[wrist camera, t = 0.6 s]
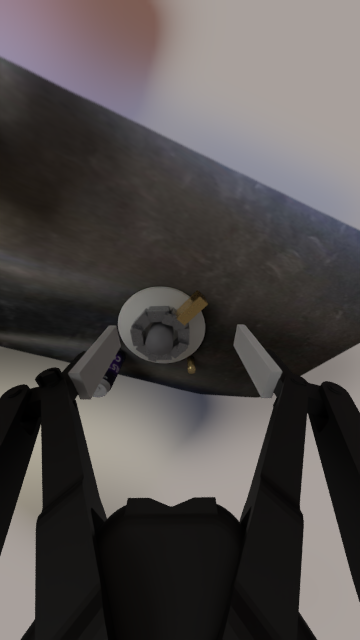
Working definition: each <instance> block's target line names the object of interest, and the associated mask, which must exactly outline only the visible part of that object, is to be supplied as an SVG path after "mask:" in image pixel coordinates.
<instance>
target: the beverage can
mask: <svg viewBox="0 0 360 640" xmlns="http://www.w3.org/2000/svg"><path fill="white" fill-rule="evenodd" d="M124 360H125V355H124V353H123V352H122V351H121V350H120V349H119V350H118V352H117V354H116V356H115V357H114V359H113V361H112V363H111V364H110V366H109V368H108V370H107V371H106V373H105V375H104V377H103V378H102V380H101V382H100V384H99V385H98V387H97V389H96V391H95V392H94V394H93V397H102V396H105V395H106V394H107V392H108V391H109V390H110V389H111V387H112V385H113V383H114V381H115V379H116V377H117V375H118V372H119V370H120V368H121V366H122V364H123V362H124Z"/></svg>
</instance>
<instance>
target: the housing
mask: <svg viewBox="0 0 360 640" xmlns="http://www.w3.org/2000/svg"><path fill="white" fill-rule="evenodd" d="M189 298H190V296H189V295H187V294H186V293H184V292H182V291H180V290H178V289H175V288H172V287H166V286H155V287H149V288H146V289H143V290H141V291H139V292H137V293H135V294H134V295H133V296H131V297H130V299H129V300H128V301H127V302H126V303H125V304H124V306H123V307H122V309H121V311H120V314H119V318H118V329H119V333H120V336H121V338H122V340H123V342H124V343H125V345H126V346H127V347H128V349H130V350H131V351H132V352H133V353H134V354H136V355H137V356H139V357H140V358H143V359H145V360H148V357H146V356H145V355H143V354H142V353H140V352H139V351H137V350H136V347H137V346H133V342H132V338H131V333H130V329H131V326H132V324H133V322H134V321H135V319H136V318H137V317H138V316H139V315H140V314H141V313H142V312H143V311H144V310H145V308H147V309H149V307H150V306H169V308H170V310H171V309H172V308H173V307H174V308H175V309H176V310H177V309H179V308H180V307H181V306H182V305H183V304H184V303H185V302H186V301H187V300H188V299H189ZM188 323H189V328H190V334H189V345H188V348H187V349H186V351H184V352H183V353H181V354H180V355H179V356H178V357H177V358H174V357H172V360H156V362H155V363H172V362H177V361H180V360H183V359H185V358H187V357H188V356H190V355H191V354H193V353H194V352H195V351H196V350H197V349H198V347H199V346H200V344H201V343H202V340H203V338H204V334H205V321H204V317H203V314H202V311H200V312H199V313H198V314H197V315H196V316H195V317H194V318H193V319H191V320H190V321H189V322H188ZM145 333H146V337H147V339H146V342H145V345H146V348H147V350H148V351H149V352H150V353H152V354H154V355H165V354H167V353H169V352H170V351H171V350H172V347H173V341H174V340H175V339H176V338H178V330H176V329H175V328H174V327H173V326H169V325H166V324H163V323H162V322H151V323H150V324H149V325H148V326H147V327H146V328H145ZM148 361H151V360H148ZM151 362H154V361H151Z"/></svg>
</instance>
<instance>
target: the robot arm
mask: <svg viewBox="0 0 360 640" xmlns="http://www.w3.org/2000/svg"><path fill="white" fill-rule="evenodd" d="M120 347H121V345H120V341H119V336H118V332H117V328H116V326H108V327H107V329H106V330H105V331H104V332H103V333H102V334H101V336H100V337H99V338H98V339H97V340H96V341H95V342H94V344H93V345H92V346H91V347H90V348H89V349H88V351H83V352H82V353H80V354H79V355H77V357H76V358H75V359H74V360H73V361H72V362H71V364H69V365H68V366H67V368H66V369H65V370H64V371H63V372H62V373H61V371H60V369H59V368H50V369H47V370H45V371H43V372H42V373H40V374H39V375H38V376H37V377H36V379H35V380H36V382H37V384H38V385H39V387H35V388H32V389H30V388H29V387H28V386H27V385H24V384H23V385H19V386H16V387H13V388H11V389H9V390H8V391H7V392H5V393H4V394H3V395H2V396H1V398H0V555H1V552H2V548H3V545H4V542H5V538H6V535H7V532H8V529H9V526H10V523H11V519H12V516H13V513H14V510H15V506H16V503H17V500H18V497H19V493H20V490H21V487H22V484H23V480H24V477H25V474H26V470H27V467H28V464H29V461H30V458H31V454H32V451H33V448H34V444H35V441H36V438H37V435H38V432H39V428H40V425H41V432H42V433H41V437H42V487H43V488H42V489H43V490H42V491H43V509H42V513H41V514H40V515H39V516H38V519H37V523H36V584H35V585H36V589H35V594H36V595H35V597H36V598H35V620H34V622H33V623H32V624H31V626H30V627H29V629H28V630H27V631H26V633H25V634H24V636H23V637H22V639H21V640H317V639H316V637H315V636H314V634H313V633H312V631H311V630H310V628H309V627H308V625H307V623H306V622H305V620H304V619H303V617H302V616H301V614H300V613H299V610H298V609H299V594H300V577H301V561H302V544H303V528H304V524H303V523H304V520H303V514H302V513H301V511H300V493H301V480H302V469H303V456H304V444H305V431H306V419H307V413H308V415H309V419H310V422H311V426H312V430H313V433H314V437H315V441H316V445H317V448H318V452H319V456H320V460H321V463H322V467H323V471H324V474H325V478H326V482H327V486H328V489H329V493H330V497H331V501H332V504H333V508H334V512H335V515H336V519H337V523H338V527H339V530H340V534H341V538H342V542H343V545H344V549H345V553H346V557H347V560H348V564H349V568H350V571H351V575H352V579H353V582H354V585H355V588H356V592H357V595H358V598H359V602H360V412H359V411H358V409H357V407H356V405H355V404H354V402H353V400H352V398H351V397H350V395H349V393H348V392H347V391H346V390H345V389H344V388H342V387H341V386H339V385H337V384H335V383H332V382H328V381H325V382H323V383H322V384H321V386H318V385H315V384H310V383H308V382H307V381H306V380H305V379H304V378H302V377H300V376H299V375H295V374H293V373H292V372H291V371H290V370H289V369H288V368H287V367H286V365H285V364H284V363H283V362H282V361H281V360H280V359H279V358H278V356H277V355H276V354H275V353H274V352H272V351H271V350H269V349H264V348H263V347H262V345H261V344H260V343H259V342H258V341H257V339H256V338H255V337H254V336H253V334H252V333H251V332H250V331H249V329H248V328H247V327H246V326H245V325H237V330H236V335H235V340H234V347H235V349H236V351H237V353H238V355H239V357H240V358H241V360H242V362H243V364H244V366H245V368H246V370H247V372H248V373H249V375H250V377H251V379H252V381H253V383H254V385H255V387H256V388H257V390H258V392H259V394H260V396H261V398H271V397H272V395H273V393H275V395H276V397H277V398H276V400H275V402H274V405H273V411H272V415H271V418H270V421H269V425H268V428H267V432H266V435H265V439H264V442H263V446H262V449H261V453H260V456H259V459H258V463H257V466H256V470H255V473H254V477H253V480H252V484H251V487H250V491H249V494H248V498H247V501H246V503H245V506H244V509H243V512H242V515H241V518H240V522H239V521H238V520H237V519H236V518H235V517H234V516H233V515H232V514H231V513H230V512H229V511H227V510H226V509H225V508H223V507H222V506H220V505H218V504H216V499H215V497H202V498H192V499H189V500H188V501H185V502H182V503H180V504H178V505H175V506H173V507H170V506H167V505H165V504H162V503H160V502H158V501H155V500H153V499H151V498H128V500H127V505H126V506H123V507H122V508H120V509H118V510H117V511H116V512H114V513H113V514H112V515H111V516H110V517H109V518H108V519H107V518H106V514H105V511H104V508H103V505H102V503H101V500H100V497H99V493H98V489H97V485H96V480H95V476H94V472H93V468H92V464H91V460H90V456H89V452H88V448H87V444H86V440H85V436H84V431H83V427H82V423H81V419H80V415H79V411H78V407H77V403H76V400H75V398H76V396H77V395H79V397H80V399H91V398H92V396H93V394H94V392H95V391H96V389H97V387H98V385H99V384H100V382H101V380H102V378H103V377H104V375H105V373H106V371H107V370H108V368H109V366H110V364H111V363H112V361H113V359H114V357H115V356H116V354H117V352H118V350H119V349H120Z"/></svg>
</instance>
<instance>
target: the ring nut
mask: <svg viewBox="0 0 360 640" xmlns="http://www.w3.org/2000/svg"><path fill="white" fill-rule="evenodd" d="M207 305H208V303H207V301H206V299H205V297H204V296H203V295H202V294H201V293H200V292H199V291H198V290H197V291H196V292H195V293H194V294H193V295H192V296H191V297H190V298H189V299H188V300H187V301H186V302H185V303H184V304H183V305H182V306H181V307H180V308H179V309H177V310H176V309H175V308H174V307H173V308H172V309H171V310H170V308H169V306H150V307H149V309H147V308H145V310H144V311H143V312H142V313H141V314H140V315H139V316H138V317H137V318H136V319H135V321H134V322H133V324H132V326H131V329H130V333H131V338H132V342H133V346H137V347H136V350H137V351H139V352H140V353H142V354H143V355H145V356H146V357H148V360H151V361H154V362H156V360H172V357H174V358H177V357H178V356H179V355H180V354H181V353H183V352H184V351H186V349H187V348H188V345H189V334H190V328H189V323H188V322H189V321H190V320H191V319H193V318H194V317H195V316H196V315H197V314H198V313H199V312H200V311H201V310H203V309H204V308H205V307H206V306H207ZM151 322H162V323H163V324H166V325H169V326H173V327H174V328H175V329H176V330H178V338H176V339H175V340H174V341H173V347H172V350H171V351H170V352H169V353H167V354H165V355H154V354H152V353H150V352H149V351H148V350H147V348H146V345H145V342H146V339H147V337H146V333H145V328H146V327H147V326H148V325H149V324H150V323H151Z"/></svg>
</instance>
